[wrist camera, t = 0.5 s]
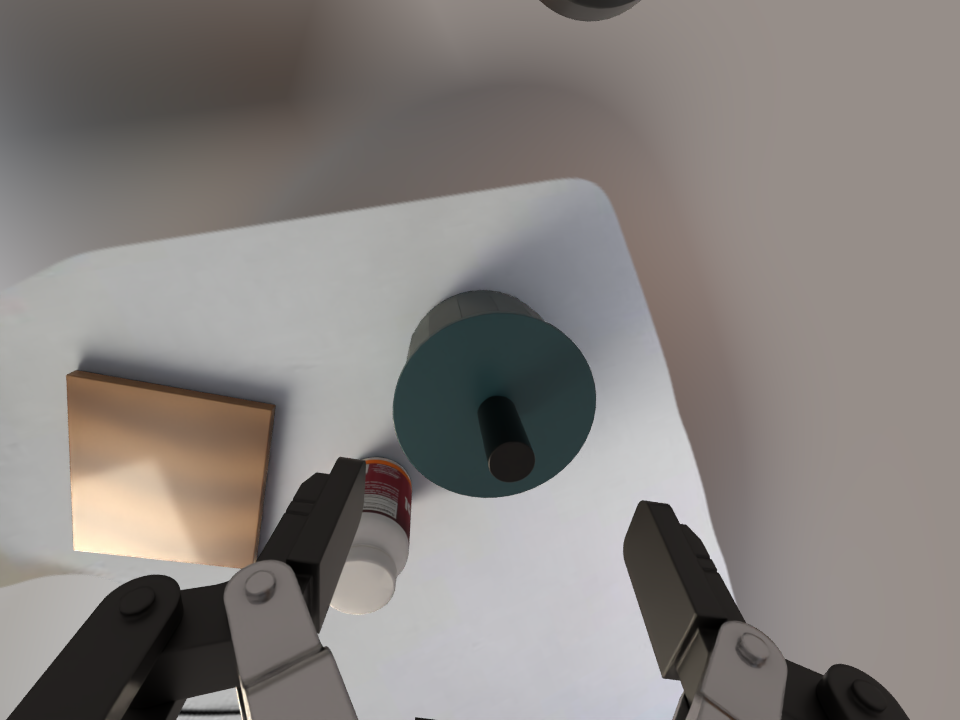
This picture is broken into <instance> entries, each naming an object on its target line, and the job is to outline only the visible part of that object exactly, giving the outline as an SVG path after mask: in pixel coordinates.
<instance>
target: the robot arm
mask: <svg viewBox="0 0 960 720" xmlns="http://www.w3.org/2000/svg"><path fill="white" fill-rule="evenodd" d="M365 476H366V461H365V460H358V459H351V458H344V457H339V458H338V459H337V461H336V463H335V465H334V467H333V469H332V471H331V473H330V474H324V473H317V472H316V473H315V474H314V475H313V476H311V477H310V478H309V479H307V480H306V481H305V482H303V483H302V484H301V486H300V488H299V489H298V491H297V493H296V494H295V496H294V498H293V501H291V503H290V505H289V506H288V508H287V510H286V513H284V515H283V517H282V518H281V520H280V522H279V523H278V525H277V527H276V528H275V530H274V532H273V534H272V535H271V537H270V539H269V540H268V542H267V544H266V545H265V547H264V549H263V551H262V552H261V554H260V556H259V557H258V559H257V560H256V562H255V563H252V564H250V565H248V566H246V567H244V568H242V569H241V570H240V571H238V572H237V573H236V574H235V575H234V576H233V577H232V578H231V579H230V580H229V581H227V582H224V583H221V584H217V585H211V586H205V587H198V588H192V589H186V590H180V587H179V585H178V583H177V582H176V581H175V580H174V579H173V578H171V577H168V576H165V575H147V576H143V577H139V578H136V579H133V580H131V581H129V582H127V583H125V584H123V585H121V586H119V587H118V588H117V589H115V590H114V591H112V592H111V593H110V594H109V595H107V596H106V598H104V600H103V601H102V602H101V603H100V604H99V606H98V607H97V608H96V609H95V610H94V612H93V613H92V614H91V615H90V617H89V618H88V619H87V620H86V621H85V623H84V624H83V625H82V626H81V628H80V629H79V630H78V631H77V633H76V634H75V635H74V636H73V638H72V639H71V640H70V642H69V643H68V644H67V645H66V646H65V648H64V649H63V650H62V651H61V653H60V654H59V655H58V656H57V657H56V659H55V660H54V661H53V662H52V664H51V665H50V666H49V667H48V669H47V670H46V671H45V672H44V674H43V675H42V676H41V677H40V679H39V680H38V681H37V682H36V683H35V685H34V686H33V687H32V689H31V690H30V691H29V692H28V693H27V695H26V696H25V697H24V698H23V700H22V701H21V702H20V704H19V705H18V706H17V707H16V708H15V710H14V711H13V712H12V713H11V715H10V716H9V717H8V718H7V719H6V720H176V719H177V717H178V715H179V713H180V711H181V709H182V707H183V705H184V703H185V701H186V699H187V698H190V697H195V696H199V695H204V694H208V693H212V692H217V691H221V690H226V689H230V688H234V687H235V688H236V693H237V698H238V703H239V707H240V712H241V717H242V720H358V718H357V715H356V713H355V710H354V708H353V705H352V702H351V700H350V697H349V695H348V692H347V690H346V687H345V684H344V682H343V679H342V677H341V674H340V672H339V669H338V666H337V664H336V661H335V659H334V656H333V654H332V652H331V651H330V649H329V648H328V647H327V646H326V647H323V646H322V644H321V642H320V640H319V637H318V635H317V633H318V634H319V633H320V630H321V628H322V625H323V622H324V619H325V617H326V614H327V611H328V608H329V606H330V603H331V600H332V597H333V595H334V592H335V589H336V586H337V584H338V581H339V578H340V576H341V573H342V570H343V567H344V565H345V562H346V559H347V556H348V554H349V551H350V548H351V545H352V543H353V540H354V537H355V535H356V532H357V529H358V526H359V523H360V520H361V516H362V512H363V506H364V494H365ZM623 555H624V561H625V564H626V567H627V570H628V573H629V576H630V579H631V582H632V586H633V589H634V592H635V595H636V598H637V601H638V604H639V607H640V610H641V613H642V616H643V619H644V622H645V626H646V629H647V632H648V635H649V638H650V641H651V644H652V647H653V650H654V653H655V656H656V659H657V662H658V666H659V669H660V672H661V675H662V678H664V679H672V680H680V681H681V684H682V686H683V689H684V692H683V693H682V695H681V697H680V699H679V702H678V705H677V708H676V710H675V713H674V716H673V719H672V720H910V719H909V718H908V717H907V715H906V714H905V712H904V711H903V709H902V708H901V706H900V705H899V704H898V702H897V701H896V700H895V698H894V697H893V696H892V695H891V694H890V693H889V692H888V691H887V690H886V689H885V688H884V687H883V686H882V685H881V684H880V683H879V682H877V681H876V680H875V679H873V678H872V677H870V676H869V675H867V674H866V673H864V672H863V671H861V670H859V669H857V668H854V667H852V666H848V665H844V664H836V665H833V666H831V667H830V668H829V669H828V671H827V672H826V673H825V674H824V675H822V674H819V673H817V672H814V671H812V670H810V669H807V668H805V667H803V666H800V665H798V664H795V663H793V662H791V661H788V660H787V659H785V658H784V656H783V655H782V653H781V651H780V650H779V648H778V647H777V646H776V645H775V643H774V642H773V641H772V640H771V639H770V638H769V637H768V636H766V635H765V634H764V633H763V632H761V631H760V630H758V629H757V628H755V627H753V626H751V625H749V624H747V623H746V622H745V620H744V618H743V617H742V615H741V613H740V611H739V609H738V607H737V605H736V604H735V602H734V600H733V598H732V596H731V594H730V593H729V591H728V589H727V587H726V585H725V583H724V581H723V580H722V578H721V576H720V574H719V573H717V569H716V567H715V565H714V563H713V561H712V559H710V556H709V554H708V552H707V550H706V548H705V546H704V545H703V543H702V541H701V539H700V538H699V537H698V536H697V535H696V534H695V533H694V532H693V531H692V530H691V529H690V528H689V527H688V526H687V525H684V524H680V523H679V521H678V519H677V517H676V515H675V513H674V511H673V509H672V508H671V506H670V505H669V504H665V503H658V502H651V501H644V500H642V501H640V502H639V504H638V506H637V508H636V511H635V513H634V516H633V518H632V521H631V523H630V526H629V529H628V531H627V534H626V536H625V539H624V545H623ZM415 720H433V719H425V718H416V717H415Z"/></svg>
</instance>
